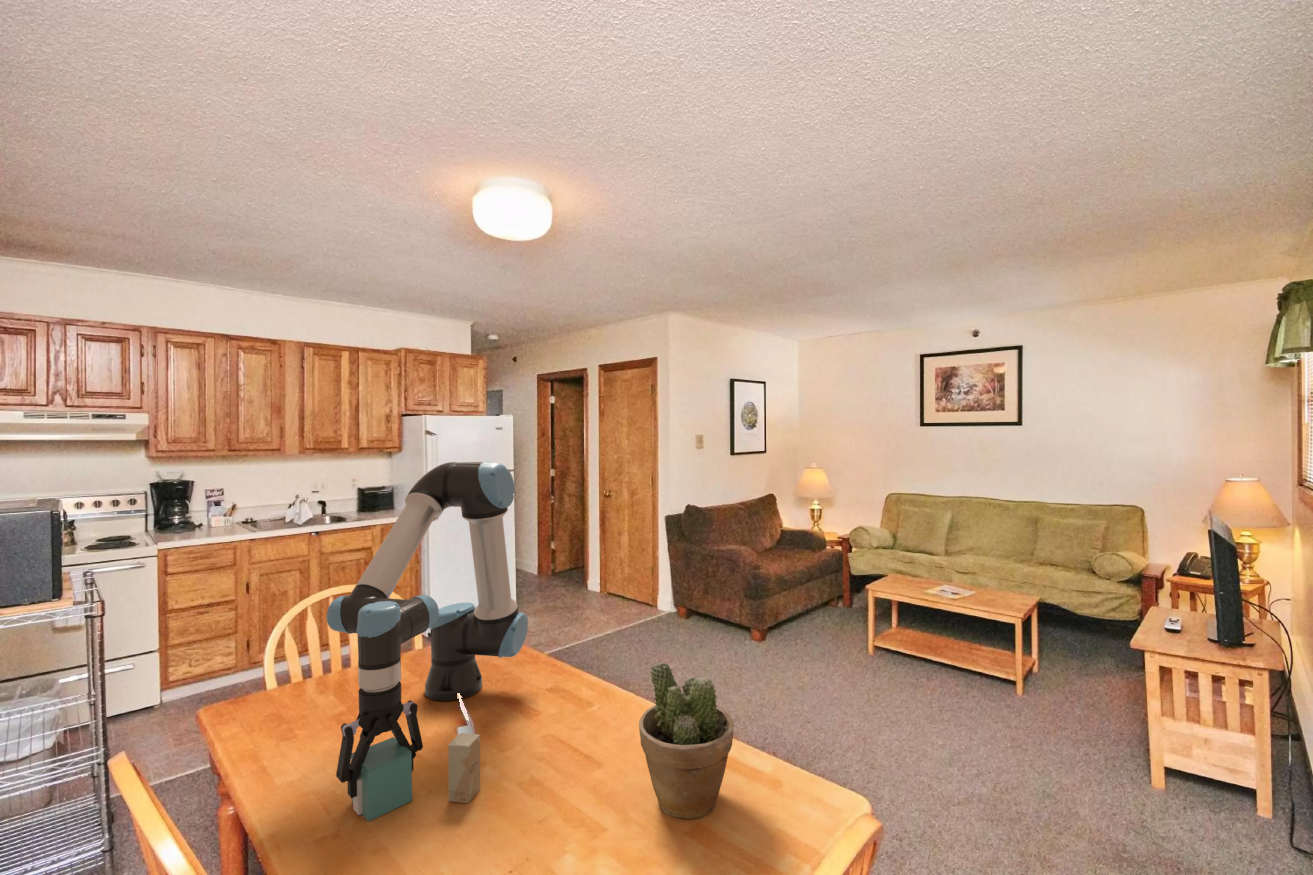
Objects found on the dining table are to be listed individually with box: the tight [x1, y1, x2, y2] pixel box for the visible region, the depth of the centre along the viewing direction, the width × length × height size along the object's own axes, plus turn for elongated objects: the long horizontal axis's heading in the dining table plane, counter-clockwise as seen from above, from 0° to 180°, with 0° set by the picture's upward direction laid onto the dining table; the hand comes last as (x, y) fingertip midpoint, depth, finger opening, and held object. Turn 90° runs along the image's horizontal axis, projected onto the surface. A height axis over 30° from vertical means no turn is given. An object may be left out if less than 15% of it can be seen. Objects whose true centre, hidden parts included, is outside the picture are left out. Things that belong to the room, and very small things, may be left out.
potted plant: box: [638, 661, 735, 820], centre depth 113 cm, size 18×19×25 cm
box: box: [447, 732, 481, 804], centre depth 115 cm, size 5×4×11 cm
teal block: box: [350, 736, 413, 823], centre depth 113 cm, size 8×8×10 cm
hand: (382, 799), depth 113 cm, fingers closed on teal block, 8 cm apart
